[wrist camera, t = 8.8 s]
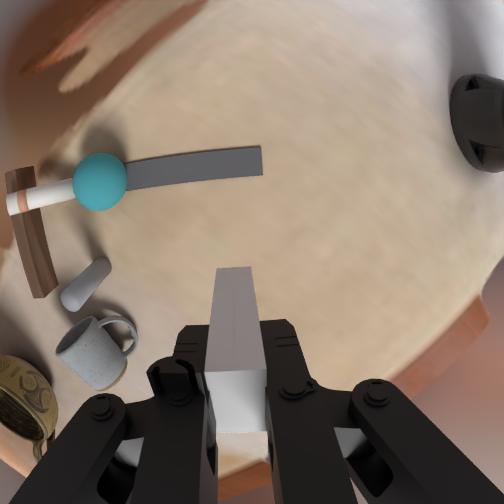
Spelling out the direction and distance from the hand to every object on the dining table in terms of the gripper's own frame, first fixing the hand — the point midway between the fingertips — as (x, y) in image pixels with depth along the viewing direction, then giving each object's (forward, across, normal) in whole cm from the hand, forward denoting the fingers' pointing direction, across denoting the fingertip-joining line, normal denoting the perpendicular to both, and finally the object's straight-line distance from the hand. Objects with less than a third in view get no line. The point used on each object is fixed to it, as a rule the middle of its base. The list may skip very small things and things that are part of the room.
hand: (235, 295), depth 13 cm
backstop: (+19, +26, 0) cm, 32 cm away
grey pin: (+19, +16, +5) cm, 26 cm away
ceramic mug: (+19, +19, +16) cm, 31 cm away
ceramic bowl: (+19, +40, +26) cm, 51 cm away
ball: (+16, +14, -5) cm, 22 cm away
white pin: (+18, +18, -5) cm, 25 cm away
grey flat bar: (+19, +5, -5) cm, 20 cm away
